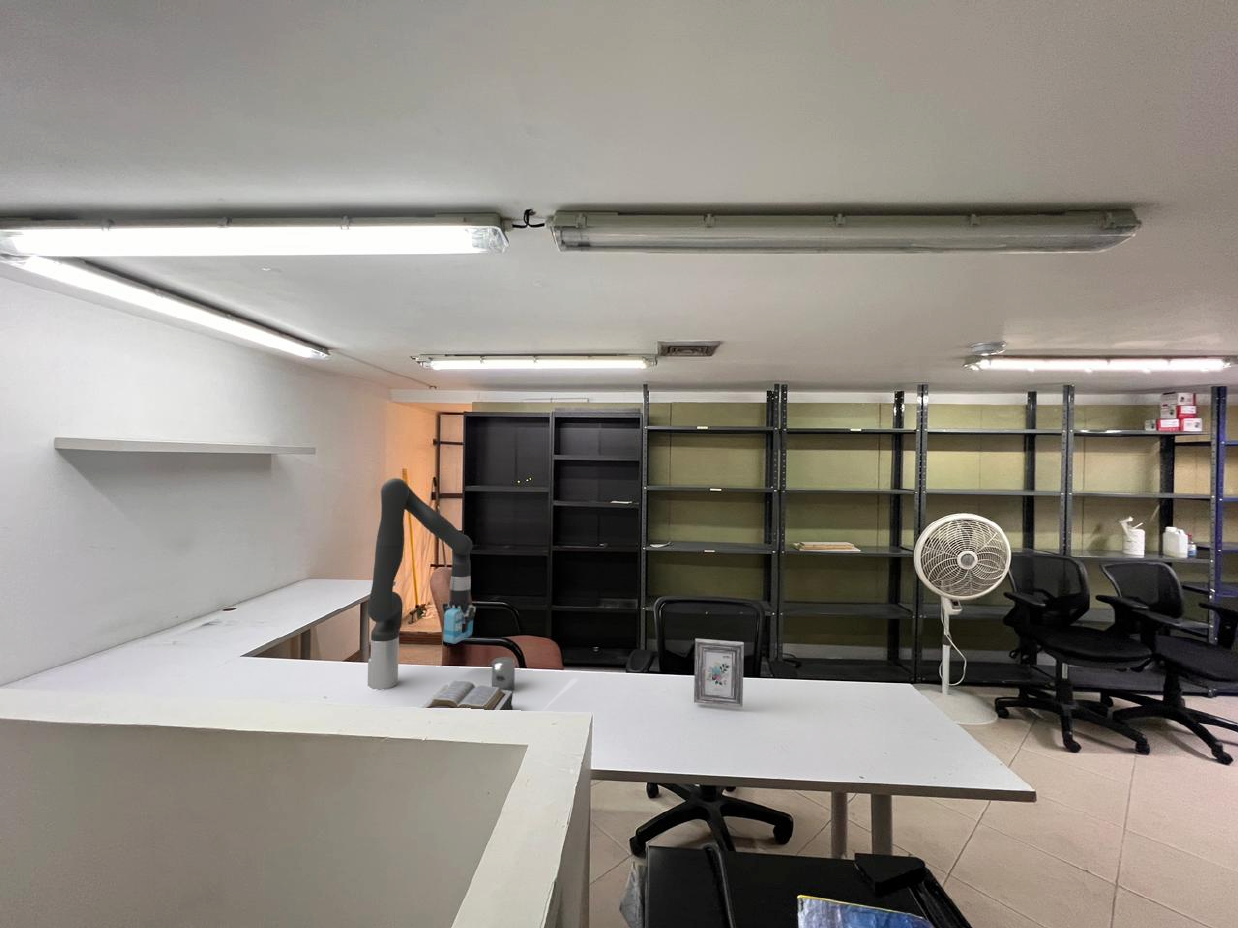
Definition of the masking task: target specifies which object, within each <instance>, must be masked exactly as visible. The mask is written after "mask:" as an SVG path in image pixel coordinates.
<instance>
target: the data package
mask: <svg viewBox="0 0 1238 928" xmlns="http://www.w3.org/2000/svg"><path fill="white" fill-rule="evenodd" d="M470 605H471V606H473V605H472V604H470ZM462 610H463V609H462ZM462 610H459V609H458V608H455V609H452V608H451V607H450V609H449V610H447V611H446V612H445V615H443V616H444V618H443V619H444V620H443V638H442V639H443V642H444V643H450V644H454V645H455V644H457V643H459V642H462V641H463V640H465V639H467V638H469V637H471V636H472V634H473V629H474V627H473V626H474V620H473V621H471V622H469V623H468V630H467V632H465V633H462V624H463V622H462V618H461V615H462ZM465 614H466V612H465V613H464V615H465ZM468 615H469V608H468Z"/></svg>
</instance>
